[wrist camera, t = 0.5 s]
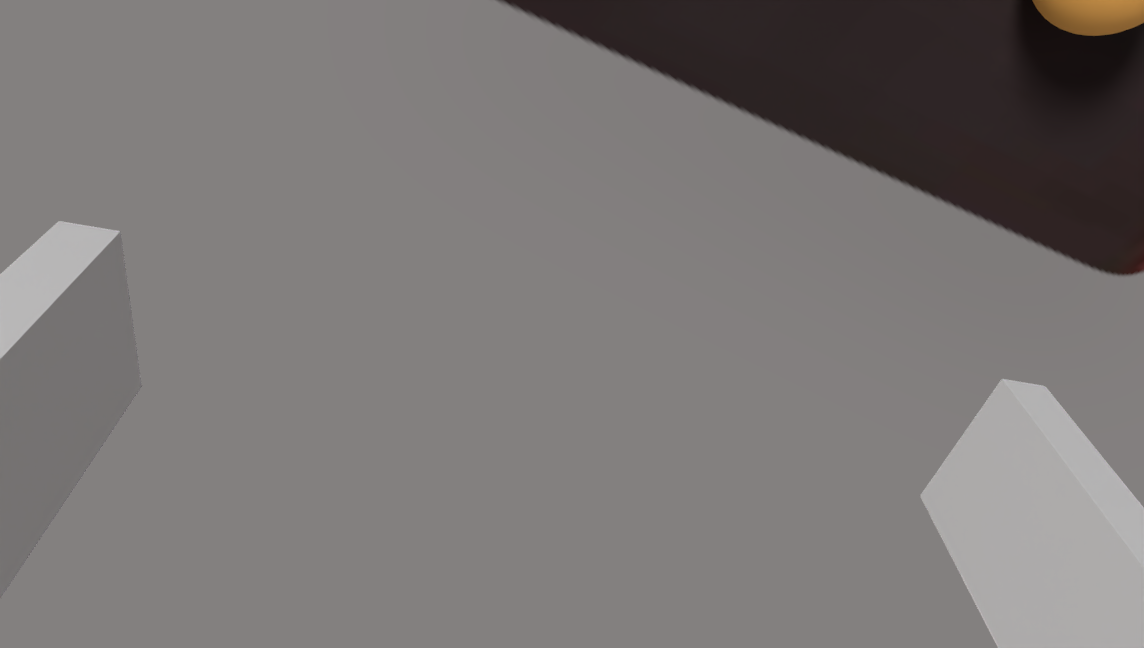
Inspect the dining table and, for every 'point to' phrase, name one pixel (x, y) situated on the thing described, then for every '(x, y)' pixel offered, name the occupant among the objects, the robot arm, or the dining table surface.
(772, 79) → the dining table surface
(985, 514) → the robot arm
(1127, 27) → the ball
